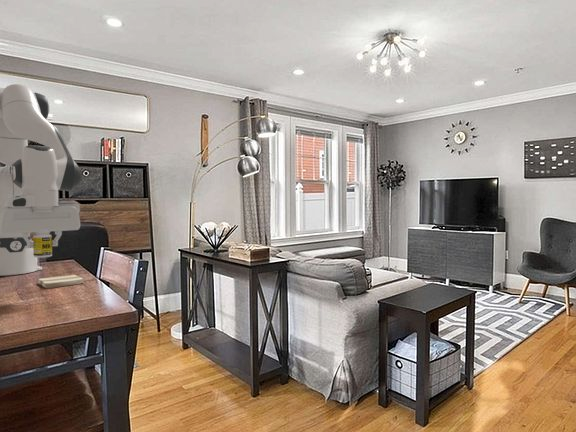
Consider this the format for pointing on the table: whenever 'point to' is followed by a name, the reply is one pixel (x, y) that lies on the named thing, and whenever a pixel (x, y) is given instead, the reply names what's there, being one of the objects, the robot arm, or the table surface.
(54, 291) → the table surface
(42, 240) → the supplement bottle
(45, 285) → the ash board
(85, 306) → the table surface
